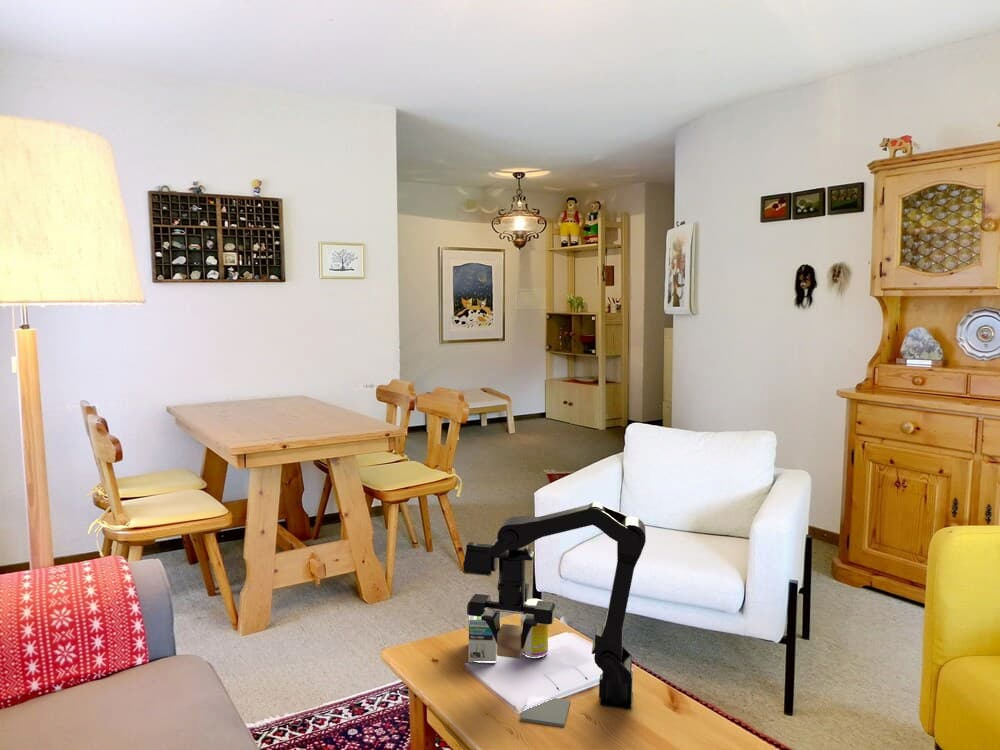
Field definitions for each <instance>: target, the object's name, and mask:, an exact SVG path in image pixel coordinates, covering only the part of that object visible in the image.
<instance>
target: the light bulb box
mask: <svg viewBox="0 0 1000 750" xmlns="http://www.w3.org/2000/svg"><path fill="white" fill-rule="evenodd" d="M481 617H482V615H481V616H480V617H479V616H470V615H468V663H469V662H474V661H496V662H497V657H498V656H497V643H496V640H495V638H494V636H493V634H492V631H491V630H490V628H489V626H488V624H487V623H486V621H483V620H482V619H481Z"/></svg>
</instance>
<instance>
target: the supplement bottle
mask: <svg viewBox="0 0 1000 750" xmlns="http://www.w3.org/2000/svg"><path fill="white" fill-rule="evenodd" d="M538 601H543V599H539V598H529V599H528V598H527V602H525V605H536V604H537V602H538ZM525 618H526V614H520V626H523V623H524V620H525ZM547 652H549V624H540V623H538V624H537V626H532V627H531V629H530V631H529V634H528V637H527V640H526V643H525V646H524V650H523V652H522V653H523V654H524V655H527V656H530V657H538V656H543V655H545V654H546V653H547ZM547 654H548V653H547Z"/></svg>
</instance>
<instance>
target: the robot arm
mask: <svg viewBox="0 0 1000 750" xmlns="http://www.w3.org/2000/svg"><path fill="white" fill-rule="evenodd" d="M591 526H594V527H596V528H597V529H599V530H600V531H601V532H602V533H604V534H605V535H606V536H607V537H609V538H610V539H611V540H613V541H615V542H617V544H616V545H617V546H616V550H617V552H616V553H617V556H616V557H617V558H616V560H617V561H616V566H615V572H614V576H613V582H612V587H611V593H610V598H609V603H608V606H607V607H608V608H607V613H606V618H605V621H604V623H603V625H602V624H599V623H596V626H595V636H594V638H593V640H592V647H591V655H593V656H594V657H593V659H594V663H595V664H596V666H597V667H598V668H599V669H600V670H601V671H602V673H601V674H600V676H599V682H598V683H599V684H598V686H599V687H598V698H599V699H600V705H599V706H602V707H609V708H618V709H623V710H632V709H633V698H634V692H633V680H634V679H633V677H634V675H633V674H634V672H633V671H634V670H632V668H633V666H632V664H633V656H632V653H630V652H629V651H628V650H627V648H625V647H624V645H623V644H624V643H623V641H624V639H623V638H624V636H623V635H624V634H623V632H624V631H623V628H624V627H623V626H624V622H625V617H626V616H625V615H626V612H627V607H628V601H629V597H630V592H631V586H632V582H633V576H634V571H635V568H636V565H637V563H638V561H639V559H640V557H641V555H642V553H643V550H644V547H645V545H646V541H647V539H646V535H647V534H646V525H645V523H644V522H643V521H642V520H641V519H640V518H638V517H636V516H628V515H626V514H624V513H622V512H620V511H618V510H615V509H612V508H610V507H608V506H605V505H604V504H602V503H601V502H598V501H593V502H590V503H589V504H585V505H580V506H577V507H574V508H573V507H572V508H569V509H565V510H561V511H557V512H553V513H548V514H545V515H542V516H527V515H523V516H522V515H521V516H520V515H519V516H511V517H508V518H506V519H505V520H504V522H503V523H502V524H501V527H500V528H499V530H498V532H497V537H496V538H494V540H493V542H492V543H491V544H489V543H488V544H487V543H478V542H472V541H469V542H468V543H467V544H466V550H465V555H464V560H463V564H462V565H463V568H462V569H463V573H464V575H474V576H485V577H487V576H488V577H491V576H492V574H493V572H495V573H496V572H497V569H498V581H497V587H496V588H497V592H498V601H492V599H491V595H490V594H481V593H474V594H473V595H471V596H472V597H470V599H469V601H468V602H467V606H466V614H467V615H468V616H469V615H470V616H479V617H480V616H481V615H482V617H481V619H482V620H483V621H486V623H487V624H488V626H489V628H490V630H491V631H492V634H493V636H494V638H495V640H496V643H497V633H498V631H499V630H500V628H501V624H500V622H501V620H500V616H501V614H500V613H501V612H502V613H508V614H509V613H510V614H519V615H521V614H526V618H525V620H524V623H523V630H522V641H521V646H522V649H523V648H524V646H525V643H526V640H527V637H528V634H529V631H530V629H531V627H532V626H537V624H538V623H540V624H548V625H552V624H553V623H554V619H555V616H556V614H557V611H556V610H557V607H556V606H557V605H556V604H555V603H554V601H545V600H542V601H538V602H537V604H536V605H525V602H527V600H528V598H529V593H530V591H529V590H530V583H528V582H526V561H533V559H534V558H535V555H536V554H535V552H534V551H533V550H531V548H530V547H529V546H528V545H530V544H532V543H533V542H535V541H538V540H540V539H541V538H544V537H548V536H552V535H556V534H561V533H564V532H569V531H572V530H573V531H574V530H578V529H582V528H586V527H591Z"/></svg>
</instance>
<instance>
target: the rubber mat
mask: <svg viewBox="0 0 1000 750" xmlns="http://www.w3.org/2000/svg"><path fill="white" fill-rule="evenodd" d="M553 698H554V699H552V700H549V701H547V702H544V703H542V704H540V705H537V706H534V707H532V708H529V709H527V710H525V711H523V710H522V712H521V715H520V718H519V721H521V722H527V723H534V724H540V725H549V726H556V727H562V728H565V726H566V721H567V718H568V714H569V710H570V707H571V706H570V705H571V699H570V700H569V699H564V698H557V697H553Z"/></svg>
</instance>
